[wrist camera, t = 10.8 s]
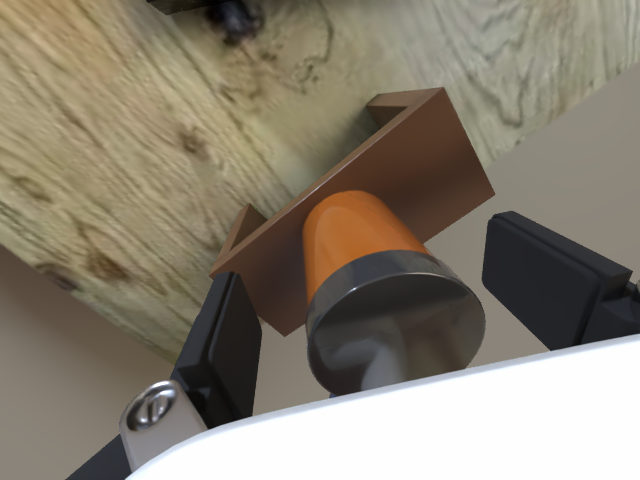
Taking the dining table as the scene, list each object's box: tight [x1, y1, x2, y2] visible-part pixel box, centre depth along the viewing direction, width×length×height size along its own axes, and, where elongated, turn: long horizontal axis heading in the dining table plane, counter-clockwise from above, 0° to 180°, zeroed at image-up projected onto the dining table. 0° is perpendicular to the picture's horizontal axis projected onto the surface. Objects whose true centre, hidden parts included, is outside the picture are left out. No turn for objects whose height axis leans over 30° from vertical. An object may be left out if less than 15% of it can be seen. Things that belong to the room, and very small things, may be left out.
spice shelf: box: [209, 87, 495, 337], centre depth 18 cm, size 6×14×10 cm, turn 128°
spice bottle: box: [302, 191, 486, 397], centre depth 11 cm, size 5×5×7 cm
